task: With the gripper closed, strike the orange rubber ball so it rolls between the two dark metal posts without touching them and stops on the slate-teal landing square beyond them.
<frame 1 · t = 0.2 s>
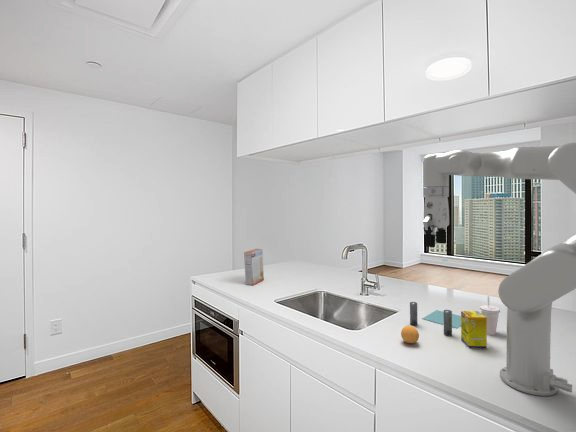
hand: (435, 244, 102), 36 cm above the worktop, tool pointing down, fingers open, 9 cm apart
smoothie: (489, 333, 117), on the worktop
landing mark: (446, 318, 132), on the worktop
post right: (447, 334, 117), on the worktop
supplement box: (473, 345, 109), on the worktop
ball: (409, 334, 111), on the worktop
post left: (413, 324, 127), on the worktop
cracker box: (254, 282, 201), on the worktop
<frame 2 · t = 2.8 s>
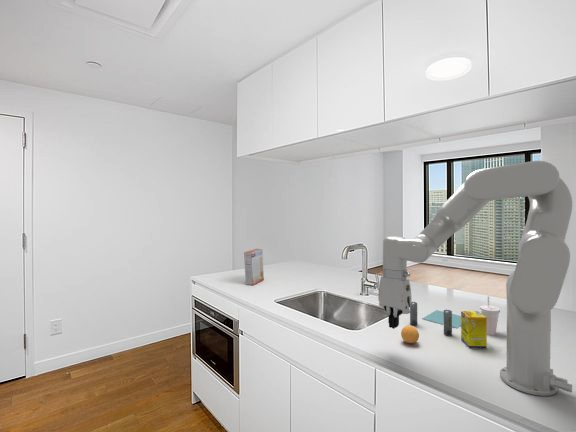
hand: (393, 326, 105), 9 cm above the worktop, tool pointing down, fingers closed
nothing on the worktop moved.
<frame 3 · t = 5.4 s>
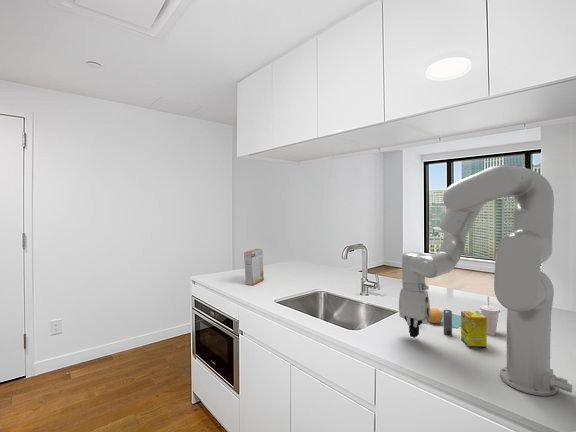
hand: (414, 335, 113), 2 cm above the worktop, tool pointing down, fingers closed
ball: (434, 315, 128), on the worktop
everything else where it was.
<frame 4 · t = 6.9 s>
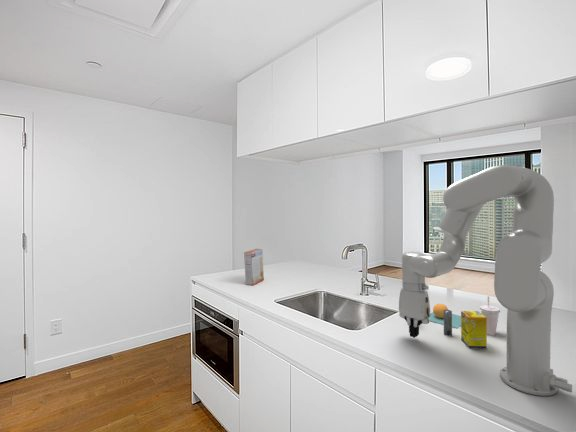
hand: (414, 335, 113), 2 cm above the worktop, tool pointing down, fingers closed
ball: (440, 310, 133), on the worktop
everything else where it was.
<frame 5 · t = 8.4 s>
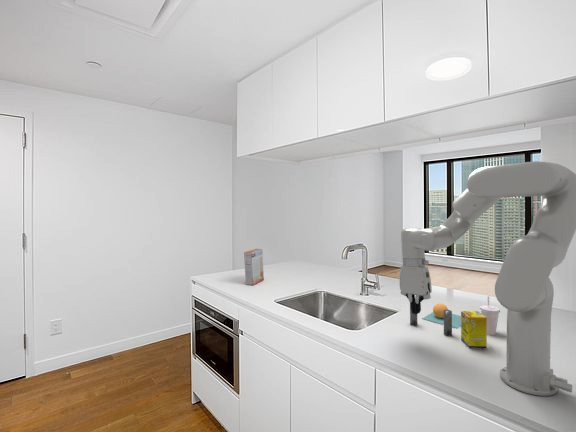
hand: (416, 312, 112), 10 cm above the worktop, tool pointing down, fingers closed
nothing on the worktop moved.
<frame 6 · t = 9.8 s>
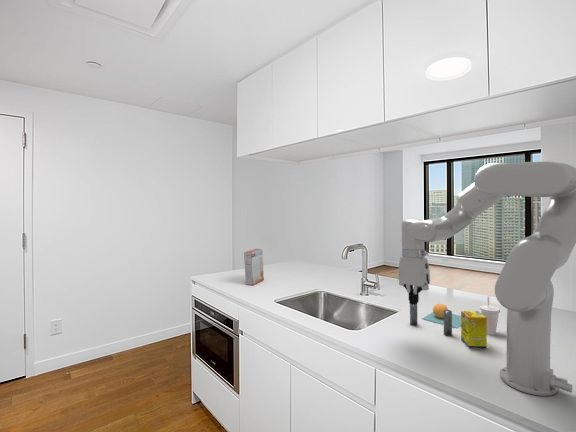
hand: (413, 303, 113), 13 cm above the worktop, tool pointing down, fingers closed
nothing on the worktop moved.
at the end: ball 2.1 cm from the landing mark (horizontally); ball never touched post left; ball never touched post right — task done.
